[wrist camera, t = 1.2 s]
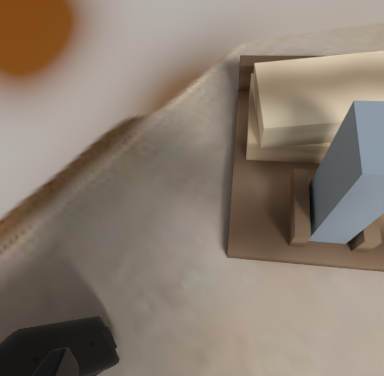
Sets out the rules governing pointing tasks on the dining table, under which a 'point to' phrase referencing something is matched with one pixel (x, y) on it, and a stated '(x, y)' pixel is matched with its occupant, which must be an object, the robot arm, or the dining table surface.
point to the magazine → (59, 338)
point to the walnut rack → (285, 205)
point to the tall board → (350, 177)
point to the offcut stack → (307, 103)
